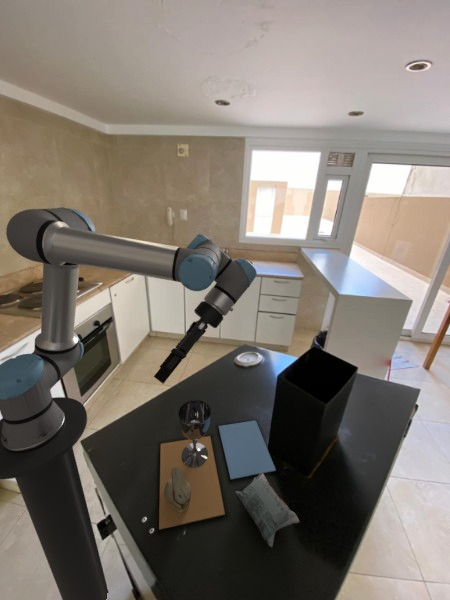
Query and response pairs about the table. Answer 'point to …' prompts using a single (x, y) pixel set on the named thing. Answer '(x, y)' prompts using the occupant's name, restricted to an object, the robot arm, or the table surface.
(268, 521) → the packaged food
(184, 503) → the grey stone figurine
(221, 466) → the table surface
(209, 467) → the mat brown
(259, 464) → the mat blue
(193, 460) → the wine glass
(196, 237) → the robot arm
